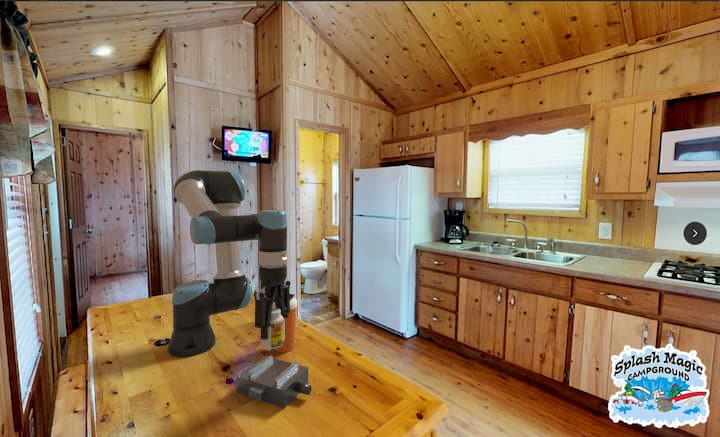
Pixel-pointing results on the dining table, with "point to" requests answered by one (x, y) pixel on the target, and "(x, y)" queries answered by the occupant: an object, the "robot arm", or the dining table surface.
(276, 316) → the supplement bottle
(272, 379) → the motor block
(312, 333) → the dining table surface
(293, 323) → the shaker bottle
